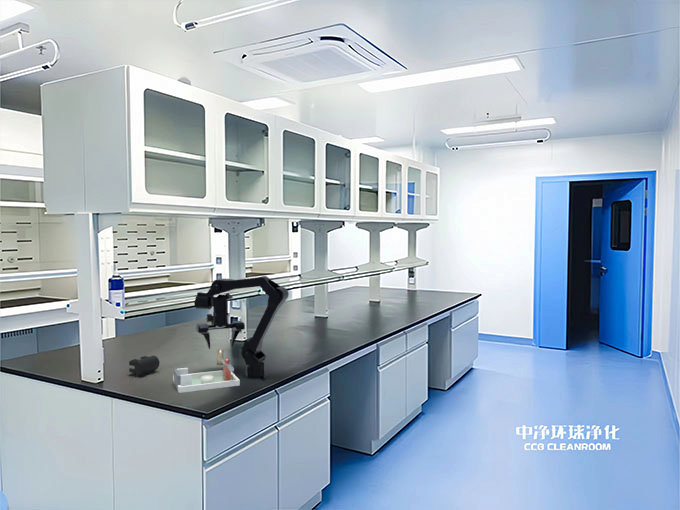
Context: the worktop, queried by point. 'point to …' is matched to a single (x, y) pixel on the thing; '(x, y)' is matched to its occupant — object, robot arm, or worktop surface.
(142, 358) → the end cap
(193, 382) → the pitch
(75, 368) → the worktop surface
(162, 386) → the worktop surface
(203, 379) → the puck
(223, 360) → the cylinder
